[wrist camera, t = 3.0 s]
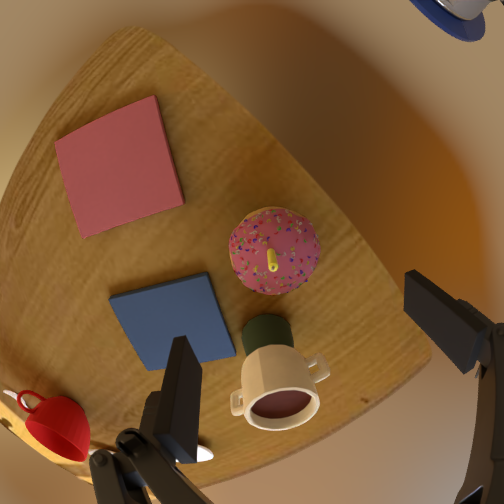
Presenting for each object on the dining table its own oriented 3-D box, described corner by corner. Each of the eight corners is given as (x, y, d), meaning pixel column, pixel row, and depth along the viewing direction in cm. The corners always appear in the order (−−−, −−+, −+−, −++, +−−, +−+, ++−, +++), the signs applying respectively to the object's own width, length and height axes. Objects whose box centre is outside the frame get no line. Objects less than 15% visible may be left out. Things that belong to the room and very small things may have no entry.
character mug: (243, 365, 36) (250, 443, 24) (214, 331, 33) (210, 413, 21) (315, 330, 35) (348, 403, 22) (292, 290, 32) (324, 364, 20)
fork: (66, 439, 43) (64, 444, 41) (5, 387, 37) (2, 392, 35) (71, 437, 43) (69, 443, 41) (8, 384, 36) (4, 389, 35)
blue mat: (207, 271, 31) (206, 275, 30) (236, 350, 35) (236, 355, 34) (110, 295, 31) (107, 299, 30) (149, 366, 35) (147, 371, 34)
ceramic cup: (49, 362, 34) (25, 401, 25) (111, 423, 40) (99, 462, 30) (21, 374, 35) (1, 406, 26) (76, 427, 41) (63, 461, 32)
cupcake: (212, 237, 29) (202, 290, 18) (270, 181, 28) (298, 200, 17) (266, 287, 32) (286, 356, 21) (321, 237, 30) (370, 285, 19)
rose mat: (156, 96, 24) (154, 94, 23) (185, 202, 28) (183, 204, 27) (58, 142, 24) (54, 142, 23) (85, 236, 28) (82, 239, 27)
